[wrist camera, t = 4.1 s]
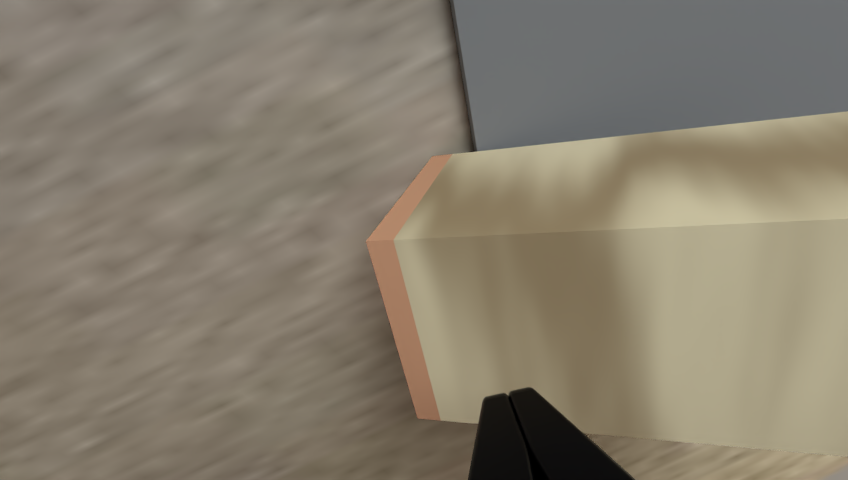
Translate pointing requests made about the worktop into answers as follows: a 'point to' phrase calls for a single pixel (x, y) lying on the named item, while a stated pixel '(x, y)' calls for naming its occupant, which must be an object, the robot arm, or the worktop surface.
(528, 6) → the rubber mat
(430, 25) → the worktop surface
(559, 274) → the maple block
